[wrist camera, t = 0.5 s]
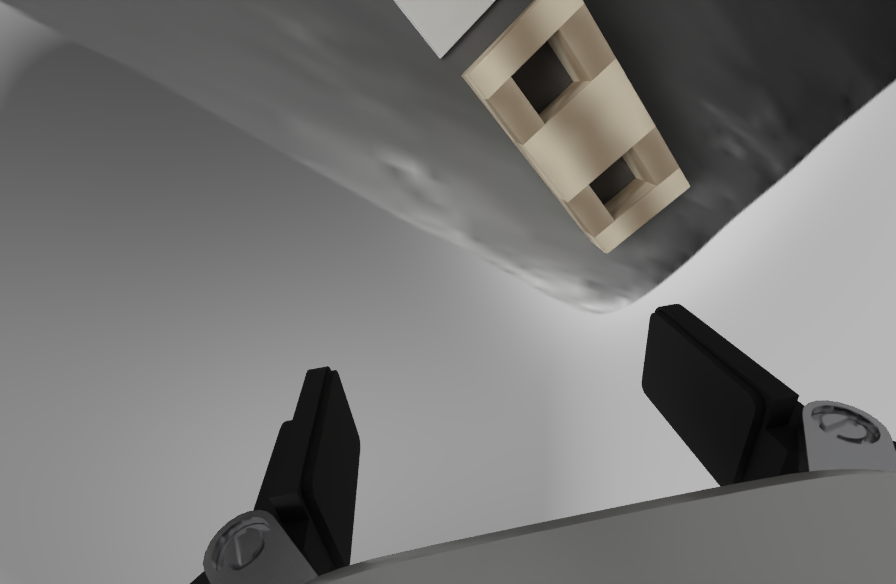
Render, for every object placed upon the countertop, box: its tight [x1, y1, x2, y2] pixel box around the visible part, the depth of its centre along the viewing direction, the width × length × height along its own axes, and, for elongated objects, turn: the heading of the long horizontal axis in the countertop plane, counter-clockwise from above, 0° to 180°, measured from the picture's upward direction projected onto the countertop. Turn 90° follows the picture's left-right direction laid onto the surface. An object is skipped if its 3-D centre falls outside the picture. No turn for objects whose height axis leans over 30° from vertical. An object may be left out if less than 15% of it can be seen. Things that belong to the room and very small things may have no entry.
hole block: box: [461, 0, 690, 254], centre depth 34 cm, size 9×20×4 cm, turn 43°
